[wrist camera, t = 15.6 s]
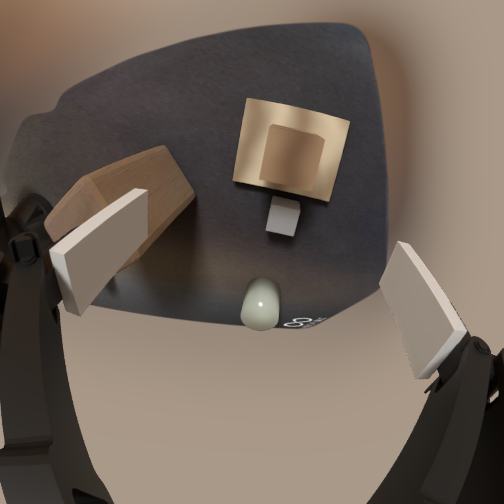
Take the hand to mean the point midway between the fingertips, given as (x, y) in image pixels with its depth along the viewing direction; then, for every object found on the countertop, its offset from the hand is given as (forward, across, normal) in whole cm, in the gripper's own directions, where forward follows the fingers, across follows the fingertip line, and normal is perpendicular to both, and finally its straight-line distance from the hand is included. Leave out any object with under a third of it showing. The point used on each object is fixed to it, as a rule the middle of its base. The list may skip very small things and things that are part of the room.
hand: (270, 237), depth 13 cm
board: (+27, +1, +1) cm, 27 cm away
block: (+27, -18, -8) cm, 33 cm away
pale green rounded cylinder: (+27, +2, -24) cm, 36 cm away
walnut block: (+25, +1, +1) cm, 25 cm away
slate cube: (+27, +2, -8) cm, 28 cm away
